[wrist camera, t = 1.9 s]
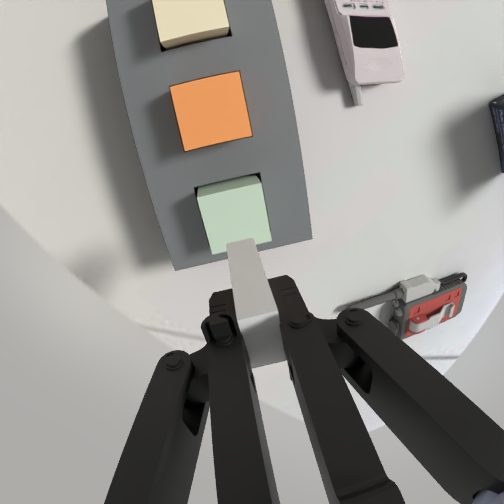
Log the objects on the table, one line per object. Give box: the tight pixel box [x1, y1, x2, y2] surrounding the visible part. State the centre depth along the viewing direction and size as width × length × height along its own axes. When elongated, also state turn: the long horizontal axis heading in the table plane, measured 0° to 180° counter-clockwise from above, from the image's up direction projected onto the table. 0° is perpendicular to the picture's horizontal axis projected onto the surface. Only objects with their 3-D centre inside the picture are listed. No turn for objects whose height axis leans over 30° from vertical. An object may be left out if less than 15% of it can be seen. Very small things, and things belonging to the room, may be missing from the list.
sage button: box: [197, 173, 272, 255], centre depth 24 cm, size 5×5×4 cm
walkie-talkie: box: [346, 273, 467, 340], centre depth 35 cm, size 9×4×20 cm
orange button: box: [170, 71, 252, 151], centre depth 20 cm, size 5×5×4 cm
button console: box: [106, 0, 312, 271], centre depth 22 cm, size 24×12×4 cm, turn 11°
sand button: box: [152, 0, 229, 51], centre depth 16 cm, size 5×5×4 cm
